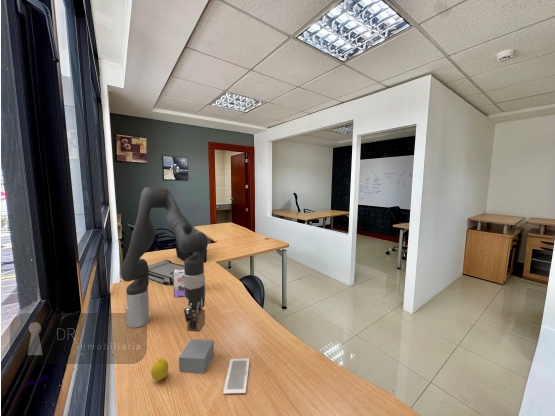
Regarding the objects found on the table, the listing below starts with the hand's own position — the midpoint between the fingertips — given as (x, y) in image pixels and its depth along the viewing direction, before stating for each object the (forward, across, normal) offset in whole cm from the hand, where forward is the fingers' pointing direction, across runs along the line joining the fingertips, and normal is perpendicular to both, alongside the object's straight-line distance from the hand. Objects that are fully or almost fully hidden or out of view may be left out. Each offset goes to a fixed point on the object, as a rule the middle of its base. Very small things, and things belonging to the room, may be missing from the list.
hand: (196, 323), depth 88 cm
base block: (+17, 0, 0) cm, 17 cm away
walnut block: (+1, 0, 0) cm, 1 cm away
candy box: (+17, -52, -31) cm, 63 cm away
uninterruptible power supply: (+17, -115, -57) cm, 129 cm away
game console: (+17, -76, -57) cm, 97 cm away
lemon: (+17, +9, -10) cm, 22 cm away
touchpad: (+17, +5, +18) cm, 25 cm away
